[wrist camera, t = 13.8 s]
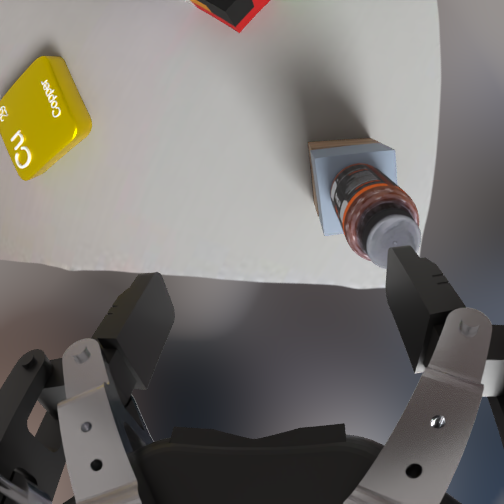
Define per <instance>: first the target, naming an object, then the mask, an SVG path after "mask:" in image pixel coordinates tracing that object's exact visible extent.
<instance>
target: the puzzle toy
mask: <svg viewBox="0 0 504 504" xmlns="http://www.w3.org/2000/svg"><path fill="white" fill-rule="evenodd" d="M184 1H186V2H188V3H190V4H192V5H193V6H195V7H197V8H199V9H201V10H202V11H204V12H206V13H208V14H209V15H211V16H213V17H214V18H216V19H218V20H219V21H221V22H223V23H224V24H226V25H228V26H229V27H231V28H232V29H234V30H235V31H237V32H239V33H240V32H241V30H242V29H243V28H244V27H245V26H246V25H247V24H248V23H249V22H250V21H251V20H252V18H253V17H254V16H255V15H256V14H257V13H258V12H259V11H260V10H261V9H262V8H263V7H264V6H265V5H266V4H267V3H268V2H269V1H270V0H184Z"/></svg>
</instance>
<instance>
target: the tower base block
mask: <svg viewBox="0 0 504 504" xmlns="http://www.w3.org/2000/svg"><path fill="white" fill-rule="evenodd" d="M371 143H380V142H378V141H376V140H373V139H371V138H360V139H343V140H329V141H317V142H308V148H309V157H310V166H311V175H312V185H313V195H314V204H315V207H316V211H317V214H318V216H319V212H318V204H317V196H316V189H315V181H314V174H313V168H312V161H311V154H310V150H316V149H324V148H332V147H341V146H350V145H360V144H371Z"/></svg>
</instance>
